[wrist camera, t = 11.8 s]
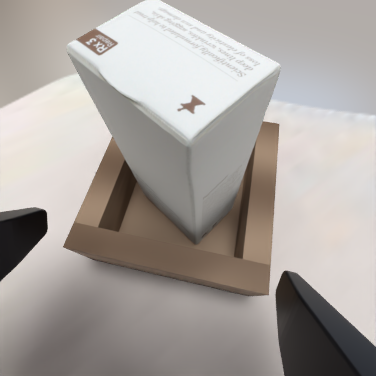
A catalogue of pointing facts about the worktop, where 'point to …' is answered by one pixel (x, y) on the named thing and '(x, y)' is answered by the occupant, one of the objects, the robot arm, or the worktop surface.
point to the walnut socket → (172, 236)
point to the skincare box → (177, 107)
